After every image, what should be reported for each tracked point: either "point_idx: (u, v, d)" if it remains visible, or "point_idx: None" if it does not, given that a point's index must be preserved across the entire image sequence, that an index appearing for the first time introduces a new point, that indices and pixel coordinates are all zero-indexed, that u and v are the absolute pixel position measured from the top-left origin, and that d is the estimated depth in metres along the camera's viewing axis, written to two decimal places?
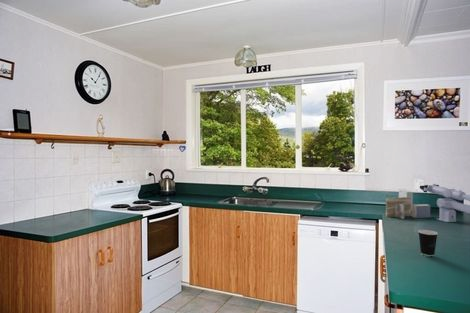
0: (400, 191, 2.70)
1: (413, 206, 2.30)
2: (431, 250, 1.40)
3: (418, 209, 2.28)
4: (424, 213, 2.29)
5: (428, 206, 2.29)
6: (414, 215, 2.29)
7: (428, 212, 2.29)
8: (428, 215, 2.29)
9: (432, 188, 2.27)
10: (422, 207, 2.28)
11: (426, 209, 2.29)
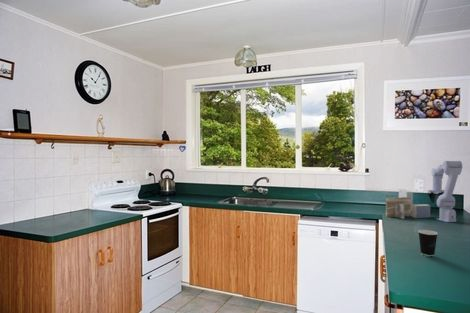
0: (400, 191, 2.70)
1: (413, 206, 2.30)
2: (431, 250, 1.40)
3: (418, 209, 2.28)
4: (424, 213, 2.29)
5: (428, 206, 2.29)
6: (414, 215, 2.29)
7: (428, 212, 2.29)
8: (428, 215, 2.29)
9: (433, 188, 2.33)
10: (422, 207, 2.28)
11: (426, 209, 2.29)
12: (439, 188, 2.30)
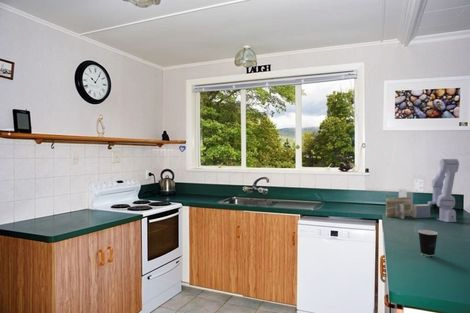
0: (400, 191, 2.70)
1: (413, 206, 2.30)
2: (431, 250, 1.40)
3: (418, 209, 2.28)
4: (424, 213, 2.29)
5: (428, 206, 2.29)
6: (414, 215, 2.29)
7: (428, 212, 2.29)
8: (428, 215, 2.29)
9: (433, 200, 2.33)
10: (422, 207, 2.28)
11: (426, 209, 2.29)
12: None
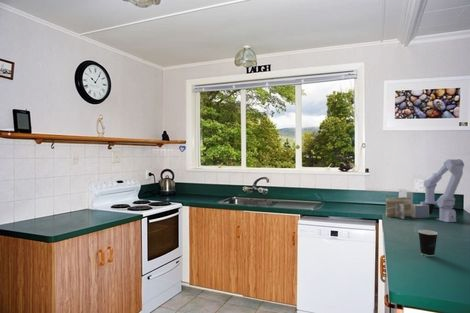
0: (400, 191, 2.70)
1: (412, 206, 2.30)
2: (431, 250, 1.40)
3: (417, 209, 2.27)
4: (423, 213, 2.28)
5: (427, 206, 2.29)
6: (413, 215, 2.29)
7: (427, 212, 2.29)
8: (427, 215, 2.29)
9: (425, 200, 2.32)
10: (421, 207, 2.28)
11: (425, 209, 2.29)
12: (432, 200, 2.29)
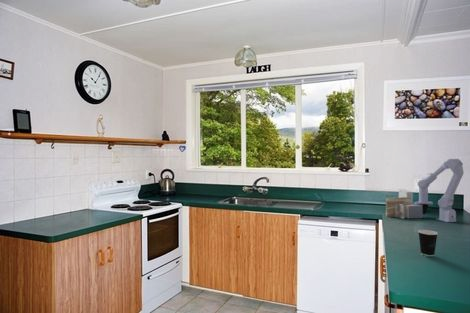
0: (400, 191, 2.70)
1: (405, 206, 2.29)
2: (431, 250, 1.40)
3: (410, 209, 2.26)
4: (417, 213, 2.27)
5: (420, 206, 2.28)
6: (406, 215, 2.28)
7: (420, 212, 2.28)
8: (420, 215, 2.28)
9: (419, 200, 2.31)
10: (414, 207, 2.27)
11: (419, 209, 2.28)
12: (425, 200, 2.28)
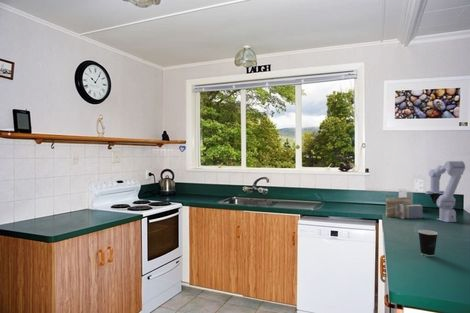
0: (400, 191, 2.70)
1: (405, 206, 2.28)
2: (431, 250, 1.40)
3: (410, 209, 2.26)
4: (417, 213, 2.27)
5: (420, 206, 2.28)
6: (406, 215, 2.28)
7: (420, 212, 2.28)
8: (420, 215, 2.28)
9: (430, 189, 2.33)
10: (414, 207, 2.27)
11: (419, 209, 2.28)
12: (437, 189, 2.30)
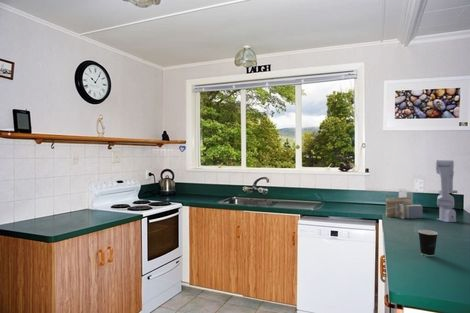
0: (400, 191, 2.70)
1: (405, 206, 2.28)
2: (431, 250, 1.40)
3: (410, 209, 2.26)
4: (417, 213, 2.27)
5: (420, 206, 2.28)
6: (406, 215, 2.28)
7: (420, 212, 2.28)
8: (420, 215, 2.28)
9: None
10: (414, 207, 2.27)
11: (419, 209, 2.28)
12: (450, 188, 2.28)
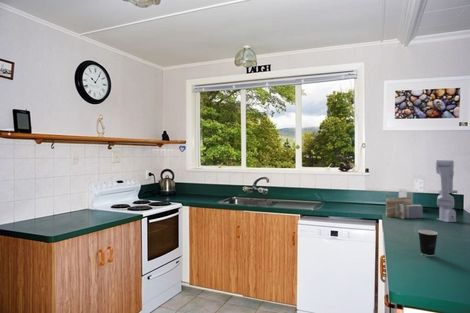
0: (400, 191, 2.70)
1: (405, 206, 2.28)
2: (431, 250, 1.40)
3: (410, 209, 2.26)
4: (417, 213, 2.27)
5: (420, 206, 2.28)
6: (406, 215, 2.28)
7: (420, 212, 2.28)
8: (420, 215, 2.28)
9: None
10: (414, 207, 2.27)
11: (419, 209, 2.28)
12: (450, 188, 2.28)
